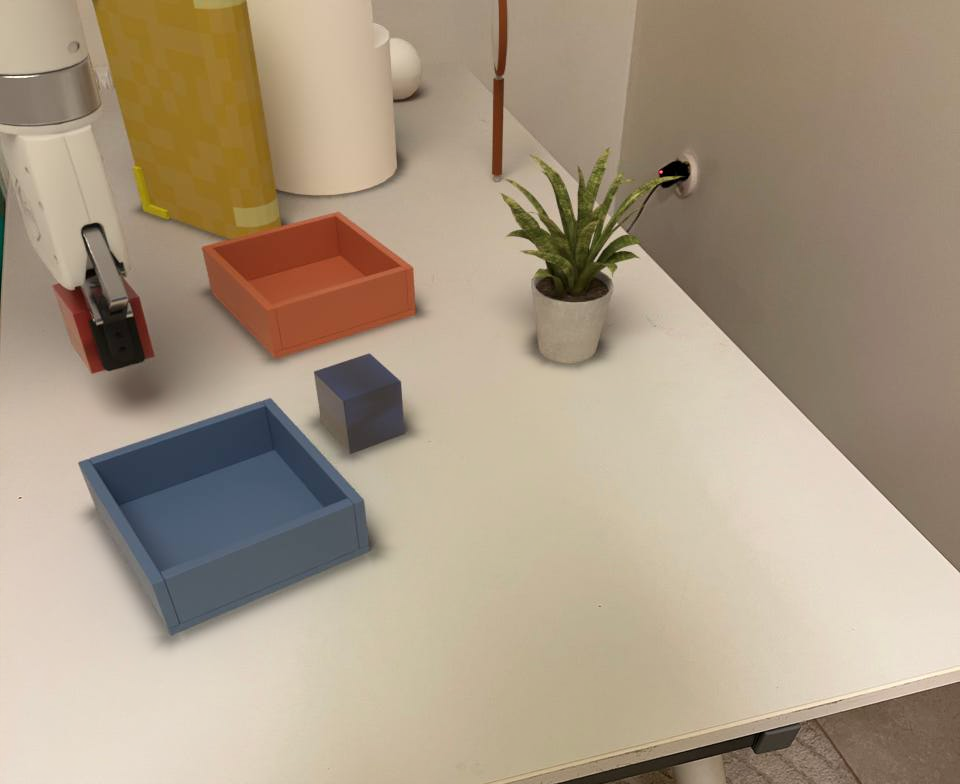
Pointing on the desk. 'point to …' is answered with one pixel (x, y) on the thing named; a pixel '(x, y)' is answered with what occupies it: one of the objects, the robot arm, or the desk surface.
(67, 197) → the robot arm
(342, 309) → the red bin
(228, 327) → the desk surface
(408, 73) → the white egg
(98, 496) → the blue bin
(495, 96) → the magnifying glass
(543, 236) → the house plant
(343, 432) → the blue block
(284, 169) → the cylinder
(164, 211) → the book
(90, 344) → the red block
